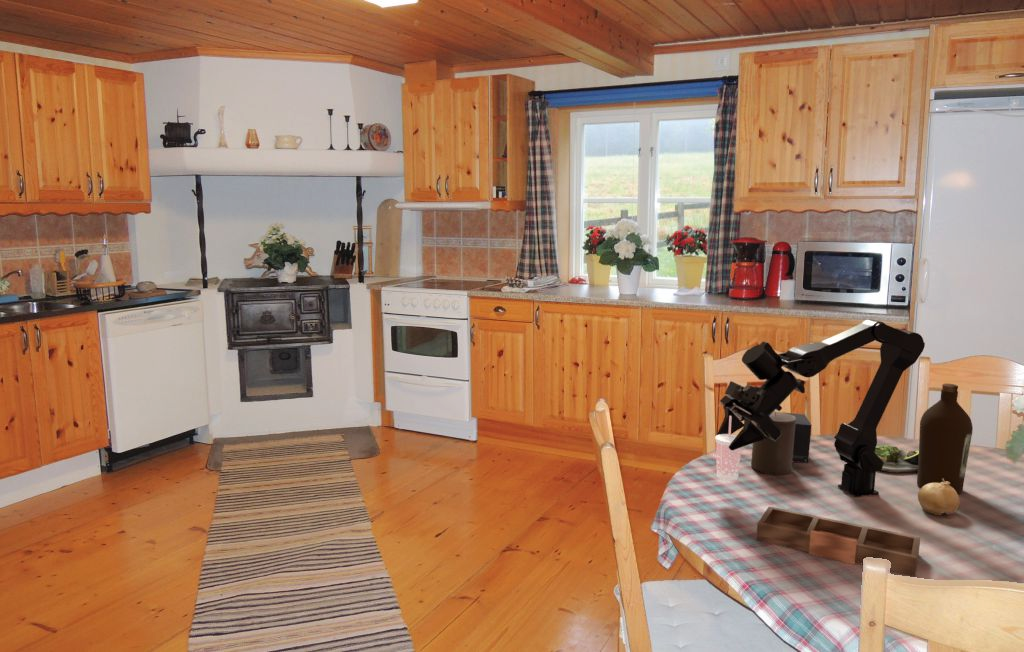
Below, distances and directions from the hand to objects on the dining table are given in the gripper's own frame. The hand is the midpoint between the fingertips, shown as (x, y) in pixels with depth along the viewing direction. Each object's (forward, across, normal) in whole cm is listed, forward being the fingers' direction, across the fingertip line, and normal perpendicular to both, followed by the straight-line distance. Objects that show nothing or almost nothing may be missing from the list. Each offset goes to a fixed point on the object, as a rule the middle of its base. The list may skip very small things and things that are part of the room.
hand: (723, 444), depth 169 cm
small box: (-13, -25, +33) cm, 43 cm away
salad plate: (-29, -16, +49) cm, 59 cm away
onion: (-21, +13, +41) cm, 48 cm away
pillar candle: (-6, -17, +25) cm, 31 cm away
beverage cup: (+5, 0, +6) cm, 8 cm away
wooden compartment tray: (+1, +25, +18) cm, 31 cm away
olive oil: (-29, +2, +48) cm, 56 cm away
